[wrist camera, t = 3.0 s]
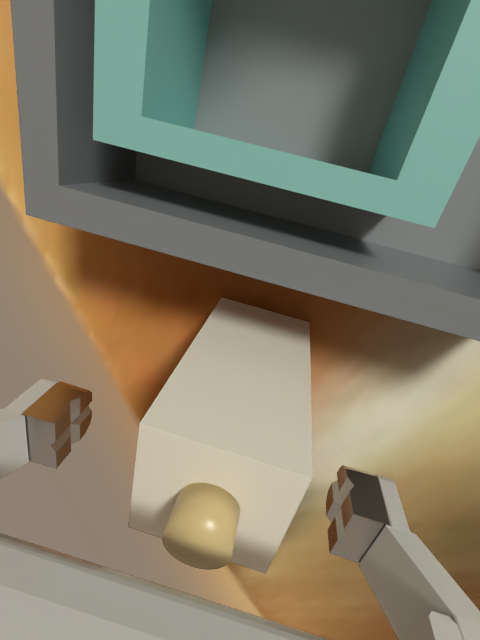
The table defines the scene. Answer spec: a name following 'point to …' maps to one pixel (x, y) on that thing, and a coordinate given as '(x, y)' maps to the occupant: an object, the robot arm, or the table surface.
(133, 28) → the inlet socket
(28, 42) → the organiser box
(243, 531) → the plug
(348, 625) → the table surface
